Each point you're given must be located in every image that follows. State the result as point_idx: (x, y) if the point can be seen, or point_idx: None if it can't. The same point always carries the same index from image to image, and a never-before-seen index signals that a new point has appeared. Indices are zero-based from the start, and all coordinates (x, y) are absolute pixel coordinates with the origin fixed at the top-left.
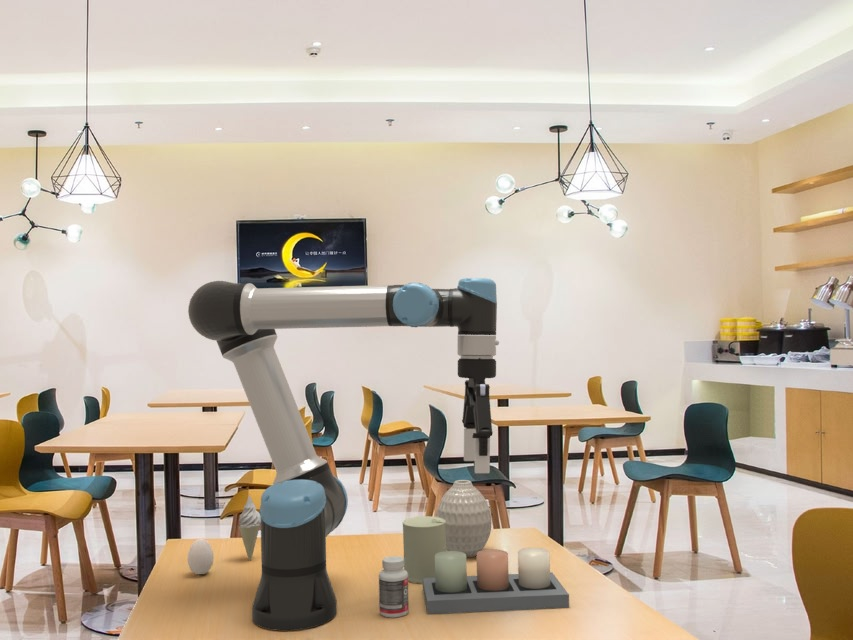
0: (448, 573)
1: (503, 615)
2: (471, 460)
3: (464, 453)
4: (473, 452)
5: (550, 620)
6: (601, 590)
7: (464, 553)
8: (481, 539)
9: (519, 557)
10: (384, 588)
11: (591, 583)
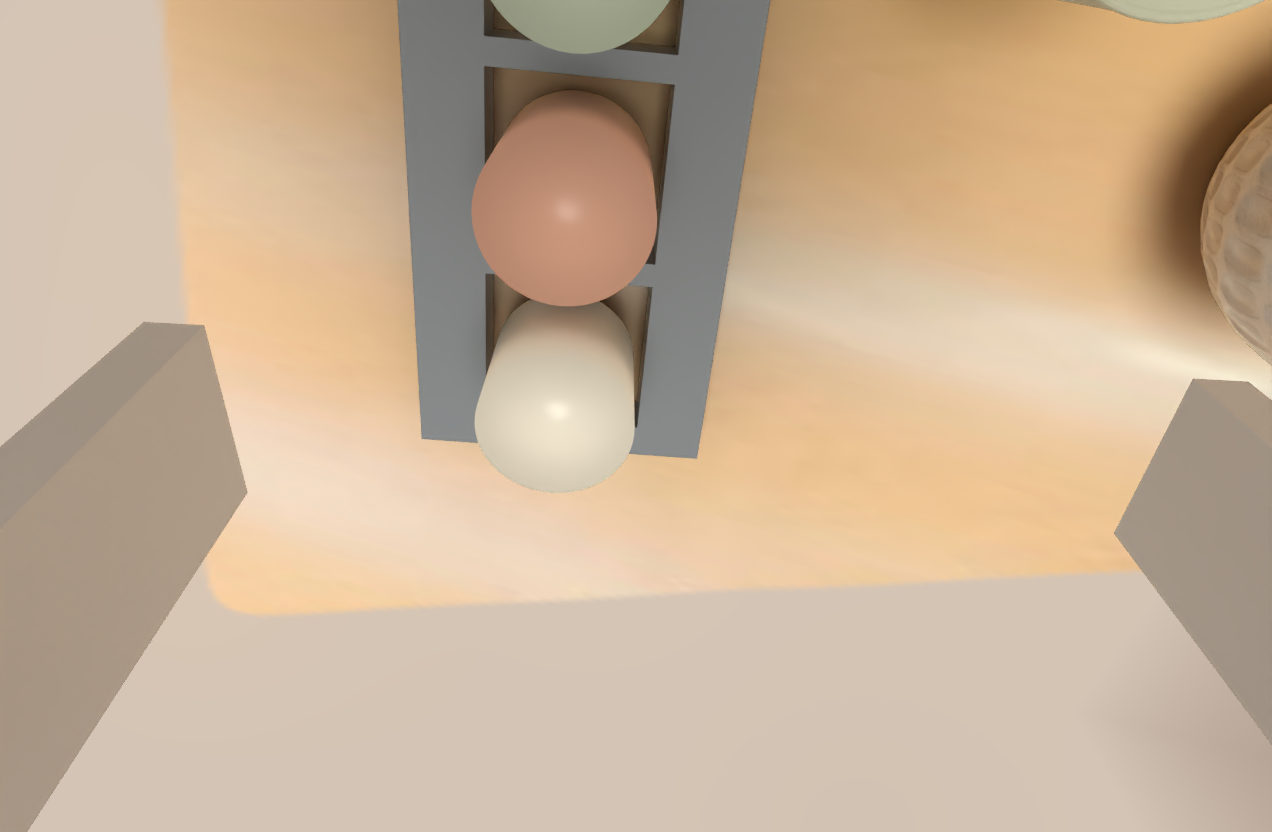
0: None
1: (366, 148)
2: (1153, 472)
3: (1265, 446)
4: (1204, 574)
5: (306, 313)
6: (590, 554)
7: (602, 48)
8: (1208, 279)
9: (539, 349)
10: None
11: (669, 549)
